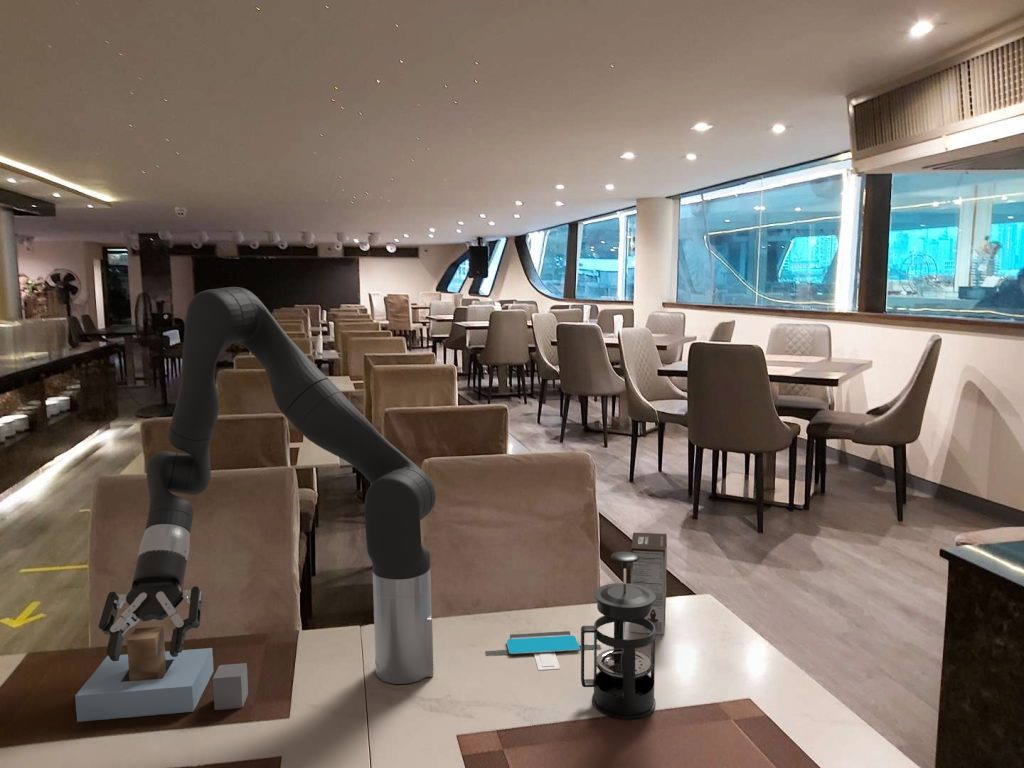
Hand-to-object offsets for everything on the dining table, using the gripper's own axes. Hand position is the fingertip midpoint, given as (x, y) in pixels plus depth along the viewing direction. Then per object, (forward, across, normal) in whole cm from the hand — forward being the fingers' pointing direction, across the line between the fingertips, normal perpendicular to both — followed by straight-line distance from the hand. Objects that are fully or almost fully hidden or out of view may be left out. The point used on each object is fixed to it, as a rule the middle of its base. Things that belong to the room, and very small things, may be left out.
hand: (143, 657), depth 111 cm
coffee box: (-4, +84, +14) cm, 85 cm away
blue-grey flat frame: (+4, 0, +6) cm, 7 cm away
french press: (+14, +71, -4) cm, 72 cm away
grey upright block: (+7, +13, +3) cm, 15 cm away
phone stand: (+2, +63, +8) cm, 63 cm away
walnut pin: (+4, 0, +6) cm, 7 cm away
